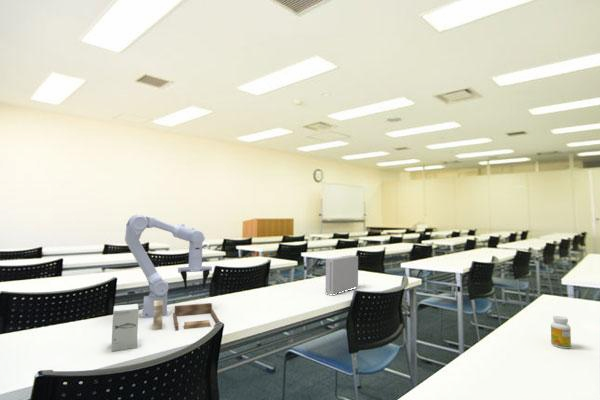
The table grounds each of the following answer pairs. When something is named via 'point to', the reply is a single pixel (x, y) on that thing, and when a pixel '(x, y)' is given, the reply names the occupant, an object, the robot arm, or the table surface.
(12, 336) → the table surface
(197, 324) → the upper oak offcut
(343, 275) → the game console
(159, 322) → the light wood block
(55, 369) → the table surface
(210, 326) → the lower oak offcut
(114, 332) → the supplement box
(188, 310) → the walnut rack
